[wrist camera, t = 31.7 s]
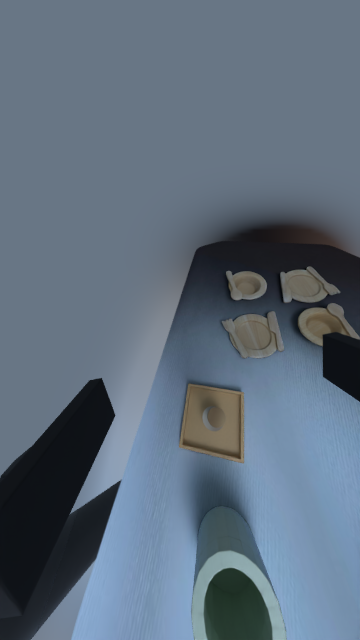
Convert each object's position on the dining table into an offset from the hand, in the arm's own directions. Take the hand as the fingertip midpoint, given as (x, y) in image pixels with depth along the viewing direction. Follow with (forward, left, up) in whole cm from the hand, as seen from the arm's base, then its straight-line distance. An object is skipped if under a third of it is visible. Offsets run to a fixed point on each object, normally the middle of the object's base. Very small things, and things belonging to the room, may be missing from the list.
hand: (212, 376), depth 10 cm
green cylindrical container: (+5, -21, -36) cm, 42 cm away
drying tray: (+1, -2, -36) cm, 36 cm away
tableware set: (+18, +30, -36) cm, 50 cm away
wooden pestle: (+1, -2, -35) cm, 35 cm away
